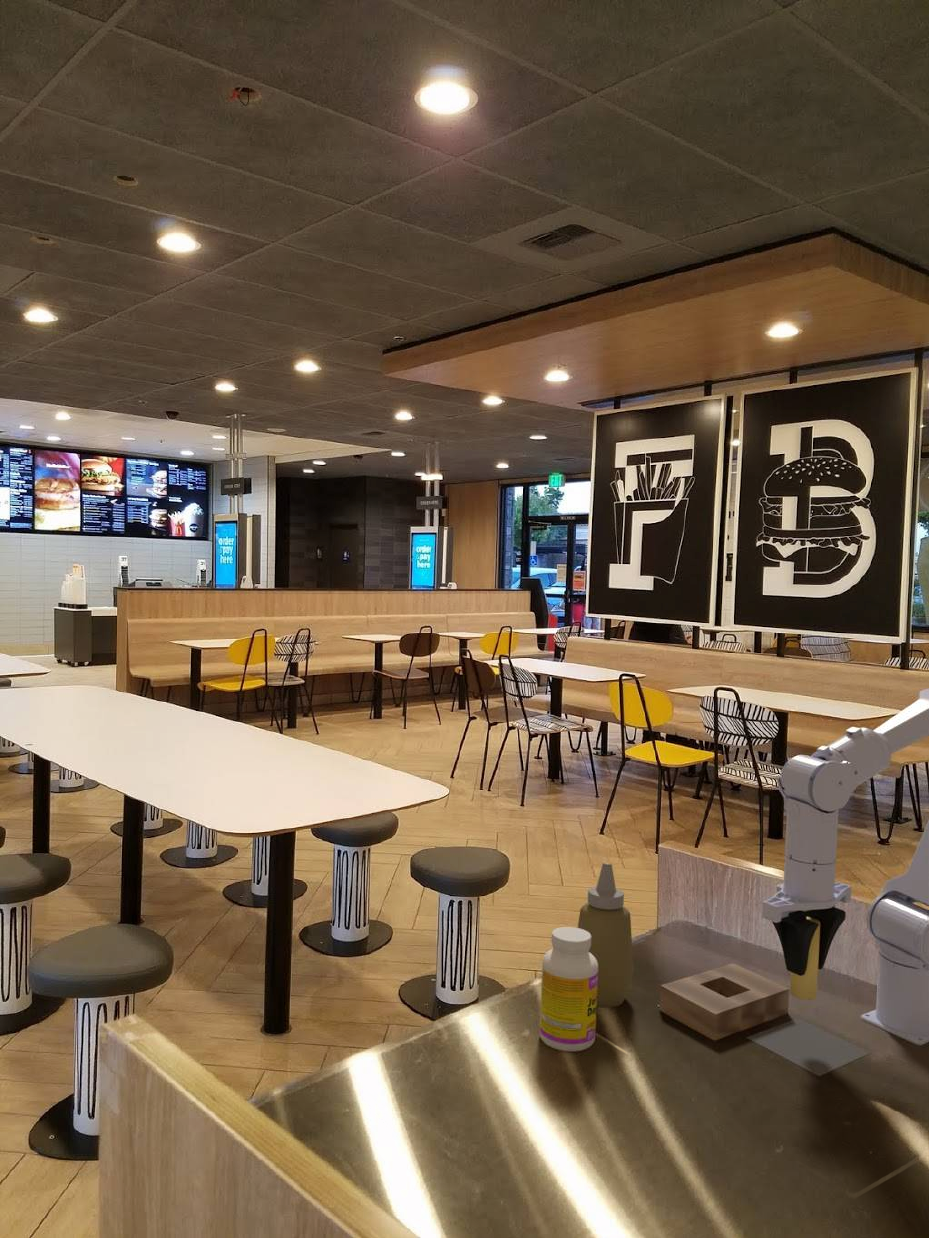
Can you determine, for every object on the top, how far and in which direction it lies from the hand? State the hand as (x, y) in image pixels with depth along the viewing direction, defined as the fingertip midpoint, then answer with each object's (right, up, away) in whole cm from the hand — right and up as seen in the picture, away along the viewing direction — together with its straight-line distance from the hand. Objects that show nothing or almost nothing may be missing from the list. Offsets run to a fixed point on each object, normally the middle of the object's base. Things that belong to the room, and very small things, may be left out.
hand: (804, 969), depth 110 cm
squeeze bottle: (-23, -8, +10) cm, 26 cm away
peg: (0, -3, 0) cm, 3 cm away
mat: (0, -9, 0) cm, 9 cm away
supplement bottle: (-29, -8, -1) cm, 30 cm away
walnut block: (-8, -9, +8) cm, 14 cm away
